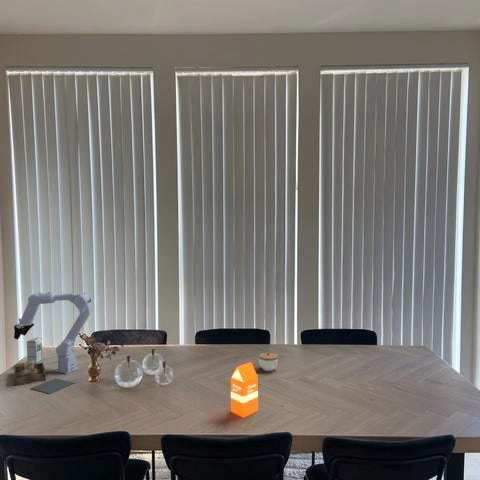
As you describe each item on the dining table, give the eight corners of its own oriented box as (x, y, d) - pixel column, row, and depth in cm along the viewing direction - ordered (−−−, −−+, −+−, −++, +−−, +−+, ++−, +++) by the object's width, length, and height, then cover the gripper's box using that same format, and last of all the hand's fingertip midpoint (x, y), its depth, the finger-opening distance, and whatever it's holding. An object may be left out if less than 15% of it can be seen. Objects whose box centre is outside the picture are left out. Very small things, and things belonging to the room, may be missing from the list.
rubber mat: (74, 383, 191) (74, 382, 191) (49, 394, 179) (49, 393, 179) (55, 379, 197) (55, 378, 197) (30, 389, 185) (30, 388, 185)
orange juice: (230, 411, 160) (230, 364, 160) (245, 404, 166) (245, 359, 166) (243, 417, 154) (243, 369, 154) (258, 410, 161) (258, 364, 160)
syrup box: (36, 365, 218) (36, 340, 218) (26, 365, 219) (26, 340, 218) (42, 361, 224) (41, 337, 224) (32, 361, 224) (32, 337, 224)
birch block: (33, 369, 204) (33, 360, 204) (34, 372, 200) (34, 362, 200) (24, 371, 202) (24, 361, 202) (24, 373, 198) (24, 364, 198)
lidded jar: (257, 371, 205) (256, 354, 205) (260, 365, 216) (260, 348, 216) (276, 373, 203) (276, 356, 203) (279, 366, 213) (279, 350, 213)
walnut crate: (43, 368, 213) (42, 362, 213) (45, 380, 196) (45, 373, 196) (14, 373, 206) (14, 367, 206) (14, 386, 189) (14, 379, 189)
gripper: (29, 308, 215) (19, 330, 215) (15, 314, 201) (5, 337, 201) (40, 313, 216) (31, 335, 216) (27, 319, 201) (17, 342, 201)
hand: (19, 336), depth 208 cm, fingers open, 7 cm apart
